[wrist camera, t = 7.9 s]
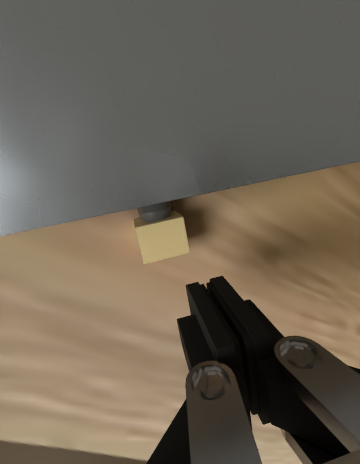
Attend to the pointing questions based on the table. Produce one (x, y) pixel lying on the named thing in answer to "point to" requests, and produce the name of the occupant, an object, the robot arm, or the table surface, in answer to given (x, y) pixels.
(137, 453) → the table surface
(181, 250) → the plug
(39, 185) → the block
